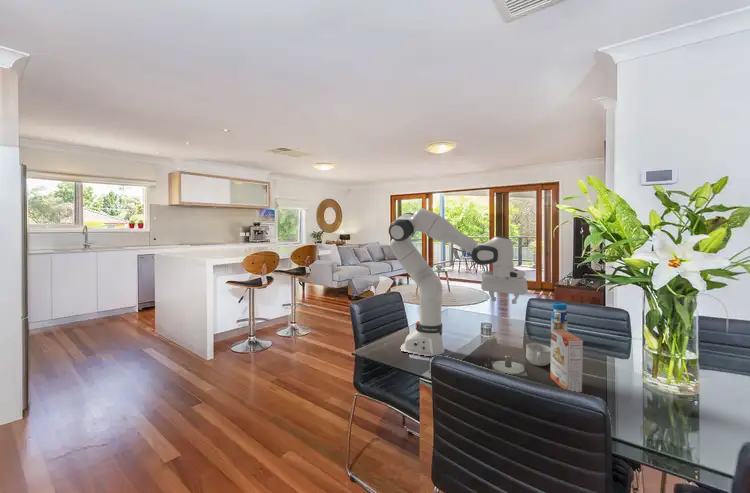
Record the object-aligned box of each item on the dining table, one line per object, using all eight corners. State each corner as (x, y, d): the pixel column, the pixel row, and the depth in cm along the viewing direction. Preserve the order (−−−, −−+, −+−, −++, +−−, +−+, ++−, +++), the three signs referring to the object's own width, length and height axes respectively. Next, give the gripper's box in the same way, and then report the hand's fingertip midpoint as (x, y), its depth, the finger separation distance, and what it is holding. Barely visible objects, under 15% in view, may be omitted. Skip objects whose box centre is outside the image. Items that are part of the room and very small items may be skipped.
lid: (493, 372, 151) (493, 360, 151) (492, 361, 164) (492, 350, 163) (526, 375, 148) (526, 363, 148) (522, 363, 160) (522, 352, 160)
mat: (492, 373, 151) (492, 372, 151) (490, 361, 164) (490, 360, 164) (527, 377, 147) (527, 376, 147) (523, 364, 161) (523, 363, 161)
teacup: (528, 357, 169) (529, 341, 168) (553, 362, 162) (554, 345, 162) (521, 367, 157) (521, 349, 157) (548, 373, 151) (548, 354, 151)
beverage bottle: (547, 337, 198) (547, 302, 197) (561, 336, 199) (562, 301, 198) (556, 342, 190) (557, 305, 189) (571, 341, 191) (572, 305, 190)
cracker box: (549, 378, 146) (550, 328, 145) (563, 378, 146) (564, 328, 145) (566, 394, 132) (567, 339, 131) (582, 394, 132) (584, 339, 131)
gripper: (478, 271, 163) (479, 300, 164) (523, 274, 150) (523, 306, 150) (484, 269, 168) (485, 298, 169) (528, 272, 154) (529, 303, 155)
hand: (503, 302), depth 159 cm, fingers open, 8 cm apart
